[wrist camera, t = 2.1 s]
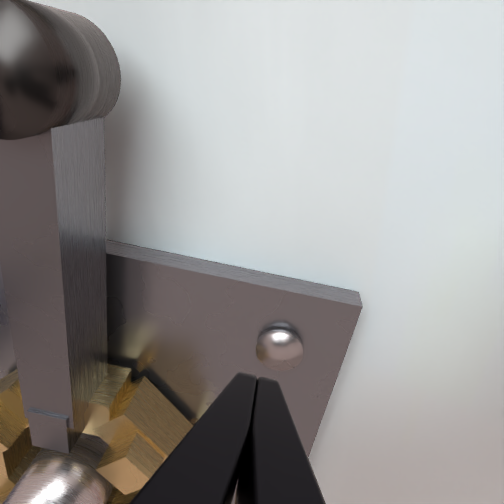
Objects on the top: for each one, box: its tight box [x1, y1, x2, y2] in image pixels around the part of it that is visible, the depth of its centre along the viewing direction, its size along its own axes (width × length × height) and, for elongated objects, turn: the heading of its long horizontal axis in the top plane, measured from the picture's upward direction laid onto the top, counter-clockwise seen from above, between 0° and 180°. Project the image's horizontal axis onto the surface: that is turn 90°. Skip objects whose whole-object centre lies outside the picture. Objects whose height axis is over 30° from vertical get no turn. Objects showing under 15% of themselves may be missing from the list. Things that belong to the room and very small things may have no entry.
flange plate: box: [0, 240, 362, 504], centre depth 16 cm, size 20×20×6 cm
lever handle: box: [0, 0, 193, 504], centre depth 13 cm, size 10×22×4 cm, turn 171°
